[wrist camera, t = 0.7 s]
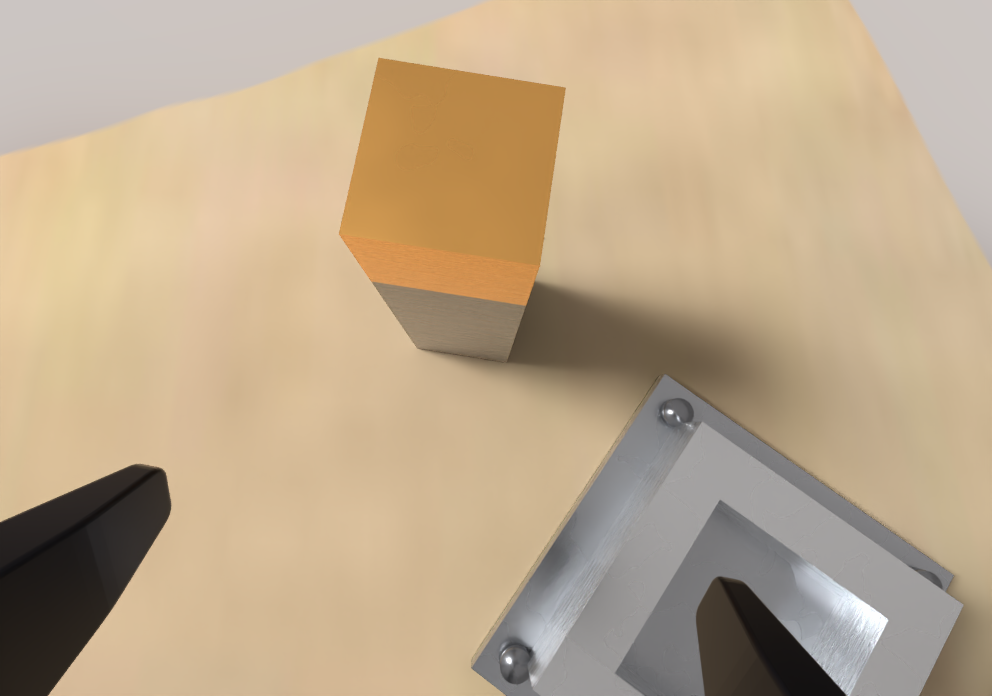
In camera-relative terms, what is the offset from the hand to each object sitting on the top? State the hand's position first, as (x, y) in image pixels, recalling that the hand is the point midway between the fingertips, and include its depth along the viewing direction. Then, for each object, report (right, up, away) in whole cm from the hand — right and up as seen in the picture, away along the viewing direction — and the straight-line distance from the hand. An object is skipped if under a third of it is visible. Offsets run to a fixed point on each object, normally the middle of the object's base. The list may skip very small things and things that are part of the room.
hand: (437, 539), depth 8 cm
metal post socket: (+10, -8, +12) cm, 18 cm away
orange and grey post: (0, +5, +14) cm, 15 cm away
